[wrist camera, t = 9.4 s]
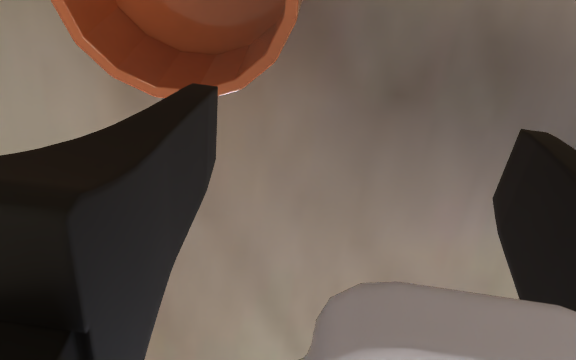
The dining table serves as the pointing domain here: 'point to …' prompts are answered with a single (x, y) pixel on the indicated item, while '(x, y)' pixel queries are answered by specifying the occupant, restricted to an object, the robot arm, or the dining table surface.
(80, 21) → the orange bowl
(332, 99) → the dining table surface
